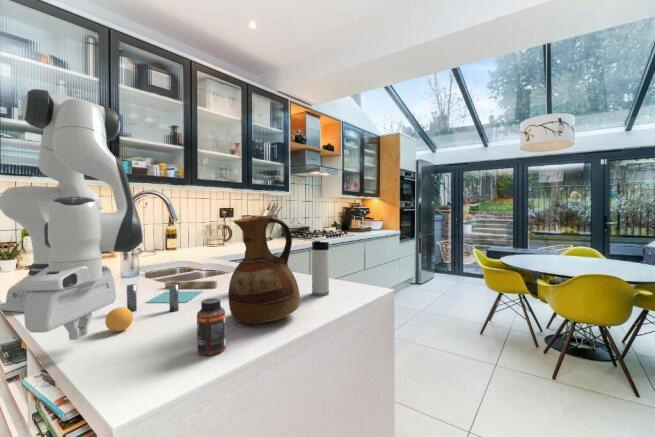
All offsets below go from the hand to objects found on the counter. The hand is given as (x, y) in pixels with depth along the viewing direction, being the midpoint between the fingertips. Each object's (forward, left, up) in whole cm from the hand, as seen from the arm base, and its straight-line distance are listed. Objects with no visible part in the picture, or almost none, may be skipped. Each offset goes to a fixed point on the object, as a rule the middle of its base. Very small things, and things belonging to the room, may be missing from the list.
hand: (78, 337), depth 66 cm
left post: (-7, +30, -4) cm, 31 cm away
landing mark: (0, +45, -4) cm, 45 cm away
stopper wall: (0, +59, -4) cm, 59 cm away
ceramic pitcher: (+36, +23, -4) cm, 43 cm away
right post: (+6, +30, -4) cm, 31 cm away
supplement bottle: (+28, +2, -4) cm, 28 cm away
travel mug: (+52, +48, -4) cm, 71 cm away
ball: (0, +14, -1) cm, 14 cm away
